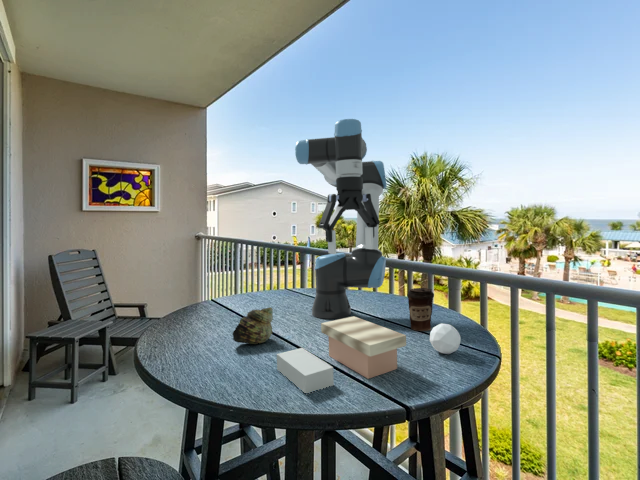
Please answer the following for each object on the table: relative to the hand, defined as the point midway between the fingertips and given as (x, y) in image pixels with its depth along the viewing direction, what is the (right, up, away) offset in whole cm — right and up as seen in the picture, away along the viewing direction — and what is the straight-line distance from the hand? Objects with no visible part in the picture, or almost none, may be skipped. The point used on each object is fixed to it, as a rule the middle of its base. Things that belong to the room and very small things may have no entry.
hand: (351, 251), depth 96 cm
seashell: (-29, -28, +4) cm, 40 cm away
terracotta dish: (+1, -28, -12) cm, 30 cm away
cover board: (+1, -22, -12) cm, 25 cm away
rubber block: (-13, -28, -20) cm, 37 cm away
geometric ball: (+24, -27, -7) cm, 37 cm away
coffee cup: (+24, -26, +12) cm, 37 cm away
